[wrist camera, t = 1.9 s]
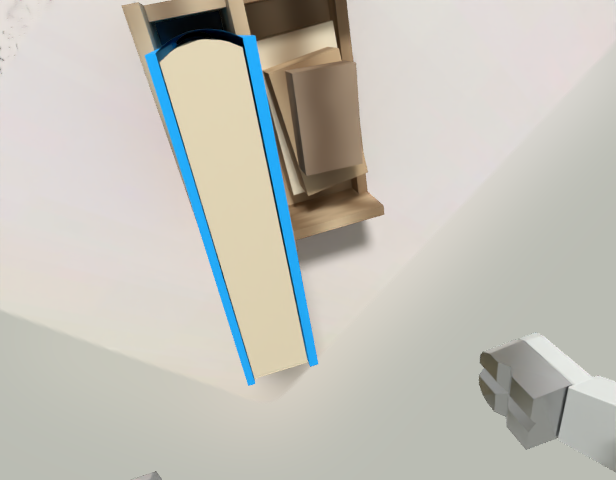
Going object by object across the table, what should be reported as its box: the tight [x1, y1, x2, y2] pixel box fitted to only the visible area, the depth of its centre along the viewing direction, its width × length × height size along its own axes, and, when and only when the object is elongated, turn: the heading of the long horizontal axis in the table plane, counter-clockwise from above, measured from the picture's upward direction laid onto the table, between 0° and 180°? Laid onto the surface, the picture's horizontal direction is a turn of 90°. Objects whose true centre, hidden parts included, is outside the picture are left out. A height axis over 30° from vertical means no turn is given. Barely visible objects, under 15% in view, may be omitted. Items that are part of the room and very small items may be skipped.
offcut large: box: [256, 21, 337, 195], centre depth 39 cm, size 7×14×3 cm, turn 13°
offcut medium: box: [262, 47, 368, 196], centre depth 37 cm, size 6×11×3 cm, turn 17°
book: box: [145, 29, 318, 386], centre depth 29 cm, size 17×4×25 cm, turn 9°
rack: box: [122, 0, 384, 251], centre depth 36 cm, size 17×21×11 cm
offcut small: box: [285, 60, 363, 176], centre depth 34 cm, size 5×8×2 cm, turn 8°
